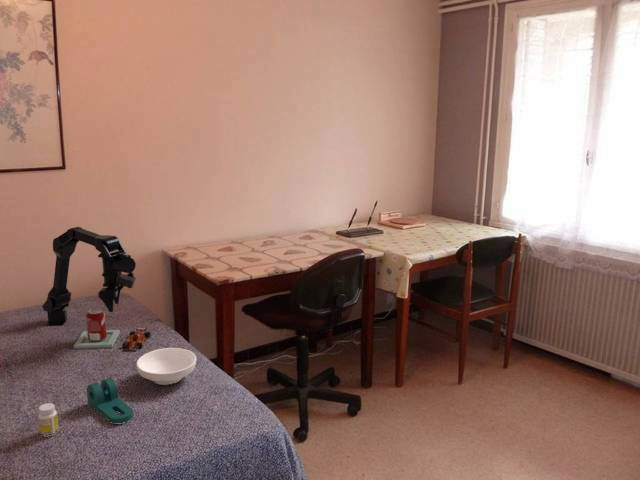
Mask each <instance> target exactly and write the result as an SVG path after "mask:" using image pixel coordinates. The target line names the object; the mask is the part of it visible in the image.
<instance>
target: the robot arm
mask: <svg viewBox="0 0 640 480" xmlns="http://www.w3.org/2000/svg"><path fill="white" fill-rule="evenodd" d="M79 242H83V243H85V244H88V245H90V246H93V247H94V248H95V250H96V251H97V252H100V253H99V254H98V255H97V258H101V259H102V261H101V262H102V273H101V276H102V277H103V284H102V288H101V289H100V290H99V291H98V293H97V294H98V295H97V296H98V298H99V300H101V301H102V302H103V304H104V306H105V307H106V308H107V310H108V312H109V313H113V312H114V309H115V308H114V305H118V304H119V303H120V298H121V292H122V291H121V290H123V288H124V287H125V288H127V289H132V288H133V287H134V285H135V282H136V280H137V277H136V276H135V274H134V270H135V269H136V266H137V265H136V264H137V263H136V261H135V259H134V258H132V256H131V254H127V251H126V249H125V247H124V246H123V245H122V243H121V241H120V240H119V237H118V236H116V235H110V234H109V235H102V234H98V233H96V232H93V231H89V230H87V229H84V228H82V227H81V226H74V227H71V228H69V229H66V231H65V232H64V233H62V234H60V235H59V236H58V237H55V238H53V240H52V251H53V253H54V255H55V256H56V258H55V266H54V276H53V285H52V287H51V289H50V290H49V291H48V294H47V297H46V300H45V302H44V303H43V305H42V306H41V307H42V310H43V311H44V312H47V323H46V325H47V326H63V325H65V323H66V322H67V320H68V318H69V317H68V311H67V310H66V308H69V305H70V302H71V301H72V299H71V297H72V292H70V291H69V290H68V288H67V285H68V277H69V268H70V261H71V260H70V259H71V257H72V255H73V254H74V252H75V251H76V247H77V244H78V243H79ZM124 273H125V274H124Z"/></svg>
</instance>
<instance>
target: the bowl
mask: <svg viewBox="0 0 640 480" xmlns="http://www.w3.org/2000/svg"><path fill="white" fill-rule="evenodd" d="M196 366H197V355H196V354H195V353H194V352H193V351H190V350H188V349H185V348H181V347H180V348H179V347H164V348H158V349H155V350H151V351H149V352H146V353H144V354H142V356H140V357H139V358H138V359H137V361H136V369H137V371H138V374H139V375H140V376H141V377H142V378H144V379H147V380H149V381H152V382H153V383H154V384H156V385H161V386H168V385H169V384H170V385H174V384H176V383H178V382H180V381H181V380H182V379H183V378H185V377H186V376H188V375H189V374H191V373H192V372H193V371H194V369H195V368H196ZM173 383H174V384H173Z"/></svg>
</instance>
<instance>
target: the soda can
mask: <svg viewBox="0 0 640 480" xmlns="http://www.w3.org/2000/svg"><path fill="white" fill-rule="evenodd" d="M103 309H104V308H101V307H94V308H90V309H88V311H87V314H86V327H87V328H86V331H88V340H90V341H93V342H99V341H102V340H104V339H105V338H106V337H107V334H106V330H107V324H106V322H107V321H106V313H105V312H104V310H103Z"/></svg>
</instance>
